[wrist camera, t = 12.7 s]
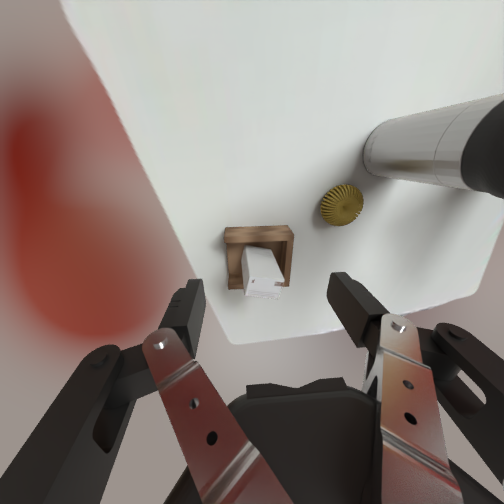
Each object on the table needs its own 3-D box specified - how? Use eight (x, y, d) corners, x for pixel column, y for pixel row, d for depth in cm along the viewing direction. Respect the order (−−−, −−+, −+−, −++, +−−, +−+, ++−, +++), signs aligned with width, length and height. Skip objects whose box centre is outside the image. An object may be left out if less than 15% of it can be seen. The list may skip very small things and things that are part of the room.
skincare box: (240, 261, 42) (242, 297, 31) (244, 242, 40) (247, 275, 29) (267, 265, 43) (278, 302, 32) (272, 247, 41) (285, 280, 30)
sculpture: (376, 205, 35) (342, 236, 38) (363, 201, 39) (333, 229, 41) (351, 176, 33) (316, 211, 35) (340, 174, 36) (309, 206, 39)
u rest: (287, 225, 40) (294, 234, 35) (283, 273, 46) (289, 286, 41) (225, 227, 39) (224, 237, 35) (229, 275, 45) (228, 289, 40)
